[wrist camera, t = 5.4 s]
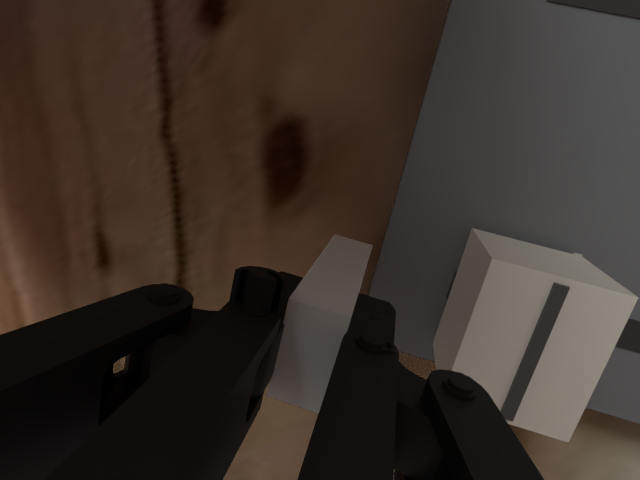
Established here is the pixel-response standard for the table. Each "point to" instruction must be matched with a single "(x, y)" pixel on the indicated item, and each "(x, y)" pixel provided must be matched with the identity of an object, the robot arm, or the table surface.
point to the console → (523, 161)
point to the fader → (531, 329)
